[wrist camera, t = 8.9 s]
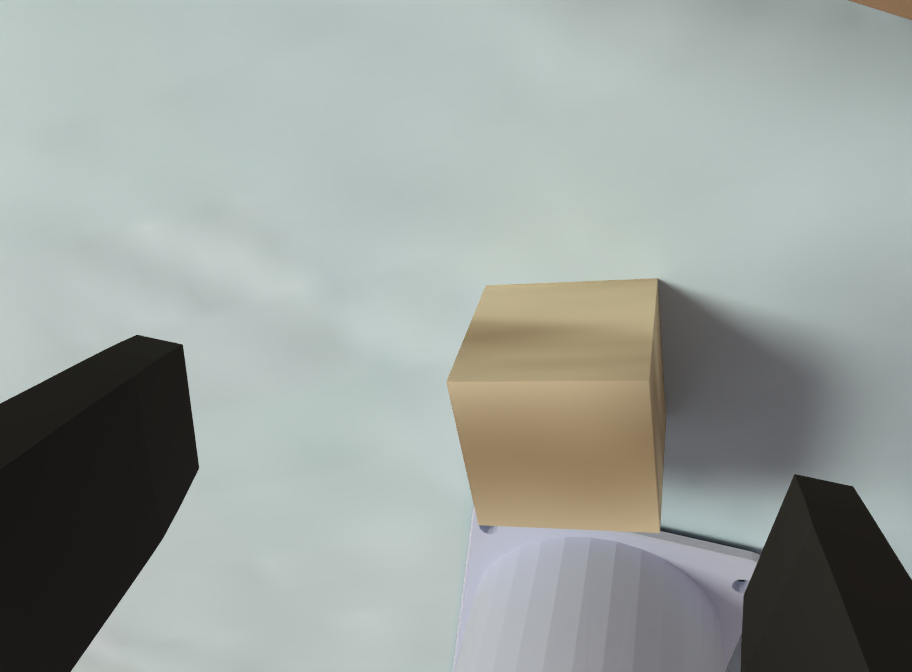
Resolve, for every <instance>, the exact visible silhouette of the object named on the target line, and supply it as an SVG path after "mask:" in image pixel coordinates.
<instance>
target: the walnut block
mask: <svg viewBox="0 0 912 672" xmlns="http://www.w3.org/2000/svg"><path fill="white" fill-rule="evenodd" d="M849 1H852V2H856V3H859V4H862V5H865V6H868V7H872V8H875V9H878V10H881V11H885V12H888V13H891V14H894V15H898V16H901V17H904V18H907V19H911V20H912V0H849Z"/></svg>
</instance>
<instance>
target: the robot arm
mask: <svg viewBox="0 0 912 672" xmlns="http://www.w3.org/2000/svg"><path fill="white" fill-rule="evenodd" d="M198 469H199V464H198V456H197V449H196V441H195V434H194V426H193V418H192V411H191V403H190V396H189V388H188V381H187V373H186V365H185V358H184V350H183V345H182V344H177V343H173V342H168V341H163V340H159V339H154V338H149V337H144V336H140V335H136V336H133V337H131V338H129V339H127V340H125V341H122V342H120V343H118V344H116V345H114V346H112V347H110V348H108V349H106V350H104V351H102V352H100V353H98V354H96V355H94V356H92V357H90V358H88V359H86V360H84V361H82V362H80V363H78V364H76V365H74V366H72V367H70V368H68V369H66V370H65V371H63V372H61V373H59V374H57V375H55V376H53V377H51V378H49V379H47V380H45V381H43V382H42V383H40V384H38V385H36V386H34V387H32V388H30V389H28V390H26V391H24V392H22V393H20V394H18V395H16V396H14V397H12V398H10V399H8V400H6V401H4V402H2V403H1V404H0V672H71V670H72V669H73V667H74V666H75V665H76V663H77V662H78V660H79V659H80V657H81V656H82V655H83V653H84V652H85V650H86V649H87V647H88V646H89V645H90V643H91V642H92V640H93V639H94V637H95V636H96V635H97V633H98V632H99V630H100V629H101V627H102V626H103V625H104V623H105V622H106V620H107V619H108V617H109V616H110V615H111V613H112V612H113V610H114V609H115V608H116V606H117V605H118V603H119V602H120V600H121V599H122V598H123V596H124V595H125V593H126V592H127V590H128V589H129V587H130V586H131V585H132V583H133V582H134V580H135V579H136V577H137V576H138V574H139V573H140V571H141V570H142V569H143V567H144V566H145V564H146V563H147V561H148V560H149V558H150V557H151V555H152V554H153V552H154V551H155V549H156V548H157V546H158V545H159V544H160V542H161V541H162V539H163V537H164V535H165V534H166V532H167V530H168V528H169V526H170V524H171V522H172V521H173V519H174V517H175V515H176V513H177V511H178V509H179V508H180V506H181V504H182V502H183V500H184V497H185V495H186V493H187V491H188V489H189V487H190V485H191V483H192V481H193V479H194V477H195V475H196V473H197V471H198ZM737 580H747V581H745V582H742V581H737ZM741 634H742V643H741V672H912V580H911V578H910V576H909V575H908V573H907V572H906V570H905V569H904V567H903V565H902V564H901V562H900V561H899V559H898V557H897V556H896V554H895V553H894V551H893V549H892V548H891V546H890V545H889V543H888V541H887V540H886V538H885V536H884V535H883V533H882V532H881V530H880V528H879V527H878V525H877V524H876V522H875V520H874V519H873V517H872V516H871V514H870V512H869V511H868V509H867V508H866V506H865V504H864V503H863V501H862V500H861V498H860V497H859V495H858V494H857V492H856V490H855V489H854V487H853V486H848V485H843V484H839V483H834V482H829V481H824V480H820V479H815V478H810V477H806V476H801V475H796V474H795V475H794V477H793V479H792V482H791V484H790V486H789V489H788V491H787V494H786V496H785V498H784V501H783V503H782V505H781V508H780V510H779V513H778V515H777V517H776V520H775V522H774V524H773V527H772V529H771V531H770V534H769V536H768V539H767V541H766V543H765V546H764V548H763V550H762V553H761V555H759V554H757V553H754V552H751V551H747V550H742V549H738V548H733V547H729V546H724V545H720V544H716V543H711V542H707V541H702V540H698V539H694V538H689V537H685V536H680V535H676V534H671V533H667V532H663V531H660V533H645V532H623V531H600V530H577V529H554V528H531V527H509V526H486V525H478V521H477V516H476V512H475V507H474V508H473V514H472V522H471V530H470V538H469V546H468V554H467V562H466V570H465V578H464V586H463V593H462V601H461V609H460V617H459V625H458V633H457V641H456V649H455V657H454V664H453V672H725V671H726V669H727V666H728V664H729V662H730V659H731V657H732V655H733V653H734V650H735V648H736V646H737V643H738V641H739V639H740V637H741Z"/></svg>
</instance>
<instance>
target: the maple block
mask: <svg viewBox="0 0 912 672" xmlns="http://www.w3.org/2000/svg"><path fill="white" fill-rule="evenodd" d="M447 386H448V391H449V395H450V400H451V404H452V409H453V413H454V418H455V422H456V427H457V431H458V436H459V440H460V444H461V449H462V453H463V458H464V462H465V467H466V471H467V476H468V480H469V485H470V489H471V494H472V498H473V503H474V507H475V512H476V516H477V521H478V525H486V526H509V527H531V528H554V529H577V530H600V531H623V532H645V533H660V523H661V504H662V486H663V467H664V448H665V429H666V409H665V393H664V376H663V360H662V344H661V327H660V311H659V295H658V279H633V280H608V281H584V282H559V283H534V284H510V285H486V286H485V289H484V291H483V294H482V296H481V299H480V301H479V304H478V306H477V308H476V311H475V313H474V316H473V318H472V321H471V323H470V326H469V328H468V330H467V333H466V335H465V338H464V340H463V343H462V345H461V348H460V350H459V353H458V355H457V357H456V360H455V362H454V365H453V367H452V370H451V372H450V375H449V377H448V380H447Z"/></svg>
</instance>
